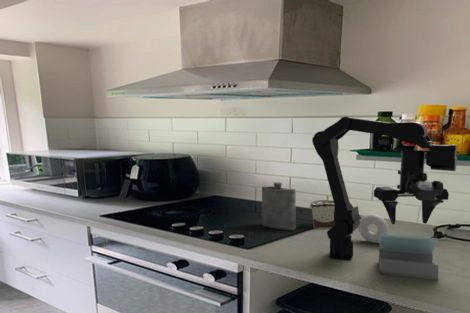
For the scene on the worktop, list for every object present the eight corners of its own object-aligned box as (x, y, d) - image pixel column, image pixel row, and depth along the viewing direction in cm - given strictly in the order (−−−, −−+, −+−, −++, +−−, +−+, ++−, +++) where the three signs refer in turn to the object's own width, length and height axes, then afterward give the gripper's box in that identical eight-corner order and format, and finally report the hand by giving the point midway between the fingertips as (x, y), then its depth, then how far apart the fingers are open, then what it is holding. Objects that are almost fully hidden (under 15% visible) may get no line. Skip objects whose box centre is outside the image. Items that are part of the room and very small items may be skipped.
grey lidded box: (380, 273, 101) (380, 259, 100) (378, 261, 109) (378, 248, 109) (437, 280, 96) (438, 265, 96) (431, 267, 105) (431, 253, 104)
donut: (356, 241, 128) (357, 213, 127) (359, 238, 131) (360, 211, 130) (387, 246, 122) (387, 217, 121) (389, 243, 125) (390, 214, 124)
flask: (292, 231, 141) (292, 184, 139) (260, 226, 149) (259, 181, 147) (296, 228, 144) (296, 183, 142) (264, 223, 152) (264, 180, 150)
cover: (380, 236, 101) (380, 232, 102) (379, 248, 109) (378, 245, 109) (438, 240, 97) (437, 237, 97) (432, 253, 104) (431, 250, 105)
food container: (336, 223, 151) (336, 199, 150) (341, 227, 145) (341, 202, 144) (306, 224, 150) (306, 200, 149) (310, 228, 144) (310, 203, 143)
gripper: (395, 172, 92) (391, 233, 94) (465, 172, 94) (460, 231, 95) (374, 166, 103) (371, 221, 105) (437, 166, 105) (433, 219, 106)
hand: (408, 223), depth 102 cm, fingers open, 9 cm apart
